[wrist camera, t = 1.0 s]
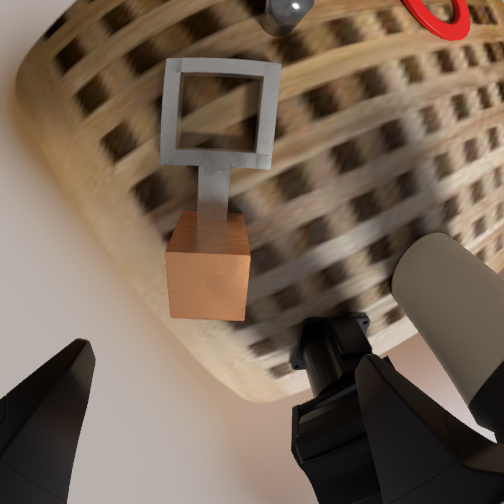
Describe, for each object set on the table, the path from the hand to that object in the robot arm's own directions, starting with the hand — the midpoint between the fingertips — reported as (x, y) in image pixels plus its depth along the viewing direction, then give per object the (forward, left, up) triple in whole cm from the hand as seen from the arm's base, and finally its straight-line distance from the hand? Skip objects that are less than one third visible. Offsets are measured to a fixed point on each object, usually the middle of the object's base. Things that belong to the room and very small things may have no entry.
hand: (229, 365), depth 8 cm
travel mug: (-3, -18, -12) cm, 22 cm away
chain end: (+3, +1, -12) cm, 13 cm away
